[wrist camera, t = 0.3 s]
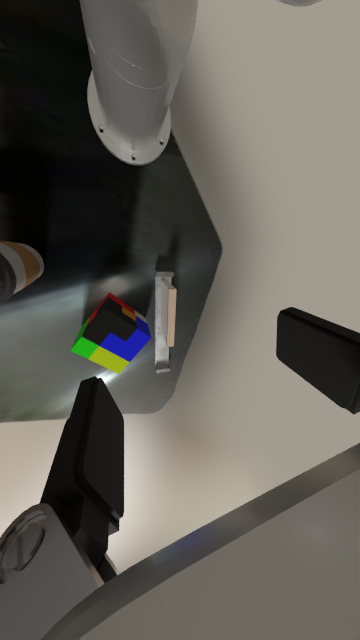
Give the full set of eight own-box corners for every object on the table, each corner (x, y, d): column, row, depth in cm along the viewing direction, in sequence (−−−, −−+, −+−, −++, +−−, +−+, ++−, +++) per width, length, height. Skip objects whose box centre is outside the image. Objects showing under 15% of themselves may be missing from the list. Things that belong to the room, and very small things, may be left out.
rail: (154, 269, 40) (156, 271, 37) (170, 269, 41) (173, 272, 38) (154, 366, 50) (156, 373, 47) (167, 364, 51) (169, 371, 48)
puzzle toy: (145, 317, 44) (151, 337, 35) (119, 347, 45) (119, 373, 36) (109, 292, 39) (105, 307, 30) (81, 326, 40) (70, 350, 32)
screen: (160, 280, 40) (168, 289, 32) (166, 280, 40) (176, 289, 33) (160, 329, 44) (167, 346, 37) (165, 328, 45) (173, 346, 37)
